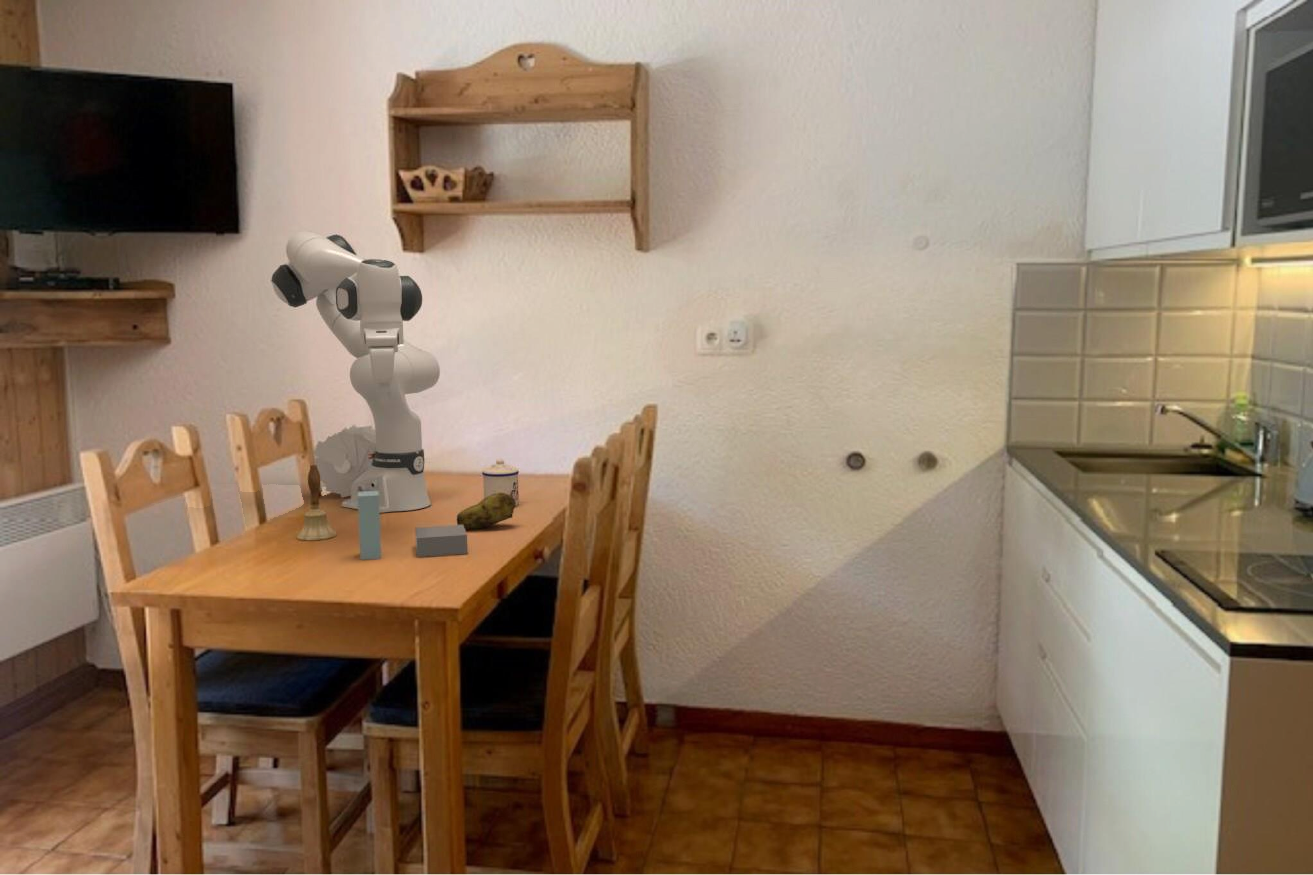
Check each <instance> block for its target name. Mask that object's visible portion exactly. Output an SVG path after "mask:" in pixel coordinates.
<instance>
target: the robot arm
mask: <svg viewBox="0 0 1313 875" xmlns="http://www.w3.org/2000/svg"><path fill="white" fill-rule="evenodd" d="M285 248H286V249H285V253H286V257H287V259H288V261H286V262H285V263H284V264H280V265H279V266H278V267H277V269H276V270H275V271H274V272H273V273H272V276H271V280H270V281H271V283H272V288H273V291H274V293H275V294H276V296H277V297H278V299H280V300H281V301H282V302H283V303H285V304H286V305H287V306H289V307H292V308H298V307H301V306H304V305H306V304H307V303H308V302H309V301H311V300H313V299H315V298H316V301H315V305H316V306H315V307H316V309H317V311H318V312H319V314H320V316H321V318H322V320H323V322H324V323H325V324H326V325H327V327H328V329H329V330H330V332H332V334H333V335H334V336H335V338H336V339H337V340H338V341H339V342H340V343H341V344H342V346H343V347H344V348H345V349H346V351H348V352H349V354H350V355H351V356H352V357H354V358H355V360H354V361H353V362H352V364H351V366H350V370H349V380H350V384H351V385H352V388H353V389H354V391H355V392H356V393H357V394H359V395H360V396H361V397H362V398H363V399H364V400H365V401H366V403H367V405H368V407H369V409H370V411H371V415H372V417H373V422H374V430H375V431H376V445H377V451H376V452H375V453H373V454H369V455H371V457H369V458H368V459H372V458H373V460H372V464H371V465H372V466H371V467H370V468H368V469H367V470H366V471H365V472H364V473H363V474H362V475H360V476H359V477H358V478H357V479H356V480H355V481H354V482H353V484H352V489H351V495H350V498H347V499H345V500H344V501H342V502H341V507H342V508H343V507H344V508H349V509H353V510H354V509H355V510H358V492H365V491H378V492H379V514H381V513H389V512H403V511H413V510H418V509H423V508H427V507H429V506H431V504H432V503H431V500H430V496H429V494H428V488H427V483H426V478H425V472H424V468H425V463H426V462H425V450H424V449H423V440H422V438H423V437H422V422H421V418H420V417H419V415H418V414H416V412H414V411H412V410H411V408H410V407H409V405H408V402H407V398H406V395H411V394H417V393H421V392H424V391H426V390H429V389H430V388H433V387H434V386H436V385H437V383H438V381H439V379H440V373H441V371H440V370H441V368H440V364H439V362H438V359H437V358H436V356H435V355H434V354H433V353H430V352H428V351H426V350H423V349H420V348H418V347H417V346H415V345H413V344H411V343H410V342H408V341H407V340H405V339H404V324H403V323H404V322H409V321H411V320H412V319H413V318H414V317H415V316H416V315H417V314H418V313H419V311H420V310H421V308H422V306H423V294H422V290H421V288H420V286H419V284H418V283H417V282H416V281H415V280H414V279H413V278H412V277H411V276H409V275H400V273H399V270H398V266H397V264H396V263H394V262H393V261H392V260H391V261H390V260H386V259H375V258H374V259H373V258H372V259H371V258H369V259H366V258H363V257H361V256H359V255H358V254H357V251H356V249H355V247H354V246H353V244H352V243H351V242H350V241H349V240H347V239H346V238H345V237H343V235H339V234H332V235H330V236H329V235H328V236H327V237H326V236H324V235H322V234H320V233H317V232H313V231H310V230H302V231H301V230H300V231H299V232H295V233H294V234H292V236H290V238H289V240H288V241H287V244H286V247H285ZM369 455H368V456H369Z"/></svg>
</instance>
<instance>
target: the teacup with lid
mask: <svg viewBox="0 0 1313 875" xmlns="http://www.w3.org/2000/svg"><path fill="white" fill-rule="evenodd" d="M481 473H482V477H483V480H482V481H483V482H482V483H483V499H484V498H486V497H488V496H490V495H492V494H497V493H505V494H508V495H510V496H512V497H513V498H514V500H515V502H516V505H515V506H516V507H518V506H519V503H520V501H519V500H520V499H519V497H520V496H519V474H520V473H519V469H518V468H517V467H514V466H511V465H510V464H508V463H506V462H505V460H504V459H496V461H495V463H494V464H492V465H491V466H488V467H485V468H484V469H483V470H482V472H481Z"/></svg>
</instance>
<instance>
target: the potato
mask: <svg viewBox="0 0 1313 875" xmlns="http://www.w3.org/2000/svg"><path fill="white" fill-rule="evenodd" d="M515 505H516V502H515V500H514V498H513V497H512V496H510V495H508V494H505V493H497V494H492V495H490V496H488V497H486V498H484V497H483V499H482V500H481V501H479V502H478V503H477V504H474V505H472V506H469V507H467V508H464V509H463V510H461V511H460V512H458V513H457V515H456V523H457V524H456V525H464V528H465V530H470V529H485V528H490V527H492V526H495V525H497V524H498V523H500V522H504V521H506V520H509V519H512V518H513V517H514V516H513V514H514V512H515V511H514V510H515V508H516V507H515Z"/></svg>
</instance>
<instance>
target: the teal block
mask: <svg viewBox="0 0 1313 875" xmlns="http://www.w3.org/2000/svg"><path fill="white" fill-rule="evenodd" d="M357 511H358V514H357V515H358V527H359V528H358V532H359V533H358V534H359V551H360V555H359V556H360V561H365V560H380V559H382V541H381V540H382V539H381V520H380V519H381V518H380V516H381V515H380V514H381V513H379V492H378V491H365V492H358V509H357Z"/></svg>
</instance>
